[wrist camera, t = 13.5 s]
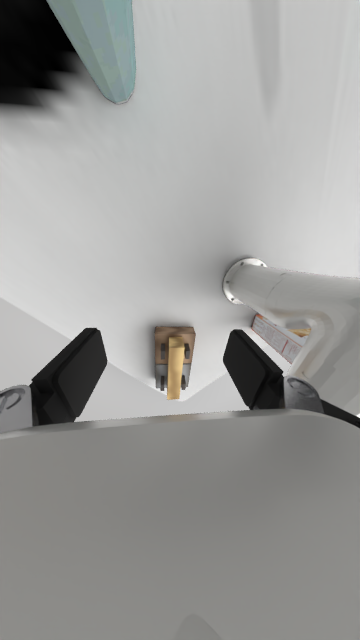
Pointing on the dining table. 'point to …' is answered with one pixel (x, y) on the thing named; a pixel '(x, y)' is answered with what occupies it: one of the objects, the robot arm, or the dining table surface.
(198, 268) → the dining table surface
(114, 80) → the disposable coffee cup
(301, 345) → the cracker box
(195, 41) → the dining table surface
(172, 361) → the bar
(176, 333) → the door and jamb
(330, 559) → the robot arm
